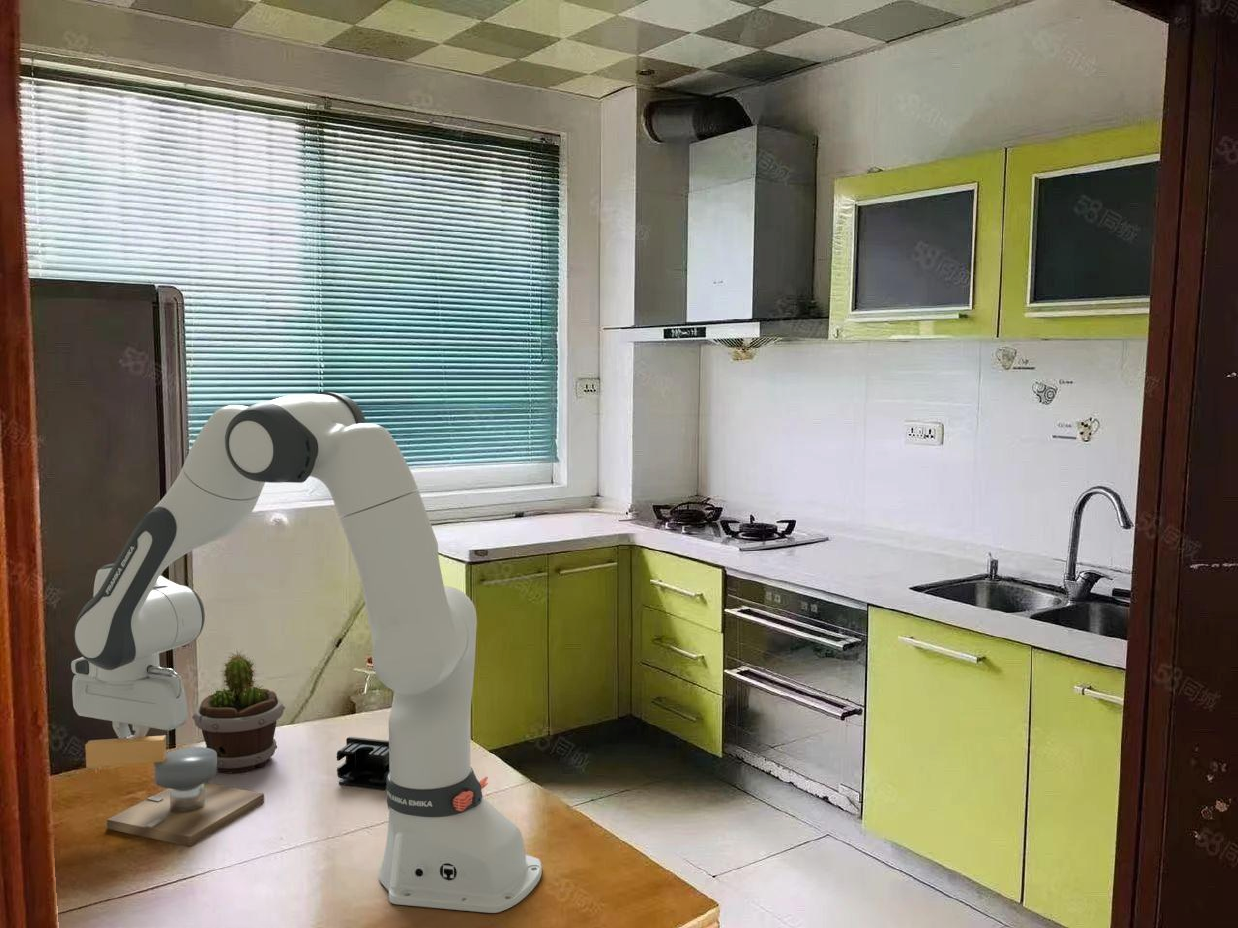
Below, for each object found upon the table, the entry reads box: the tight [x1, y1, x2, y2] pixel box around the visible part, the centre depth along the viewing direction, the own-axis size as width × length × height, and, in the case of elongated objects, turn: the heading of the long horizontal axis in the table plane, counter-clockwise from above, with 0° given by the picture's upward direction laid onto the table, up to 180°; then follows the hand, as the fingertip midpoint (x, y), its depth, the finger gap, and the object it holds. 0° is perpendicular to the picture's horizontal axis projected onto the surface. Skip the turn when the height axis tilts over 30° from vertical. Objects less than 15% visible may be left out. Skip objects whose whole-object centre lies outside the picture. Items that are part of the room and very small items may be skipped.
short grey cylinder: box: [169, 783, 205, 813], centre depth 156 cm, size 5×5×4 cm
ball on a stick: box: [84, 734, 218, 789], centre depth 155 cm, size 18×9×6 cm, turn 102°
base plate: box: [106, 782, 265, 847], centre depth 157 cm, size 16×16×2 cm
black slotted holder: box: [336, 736, 390, 791], centre depth 170 cm, size 10×7×7 cm
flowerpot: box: [191, 649, 286, 774], centre depth 177 cm, size 14×15×20 cm
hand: (132, 748), depth 157 cm, fingers closed
